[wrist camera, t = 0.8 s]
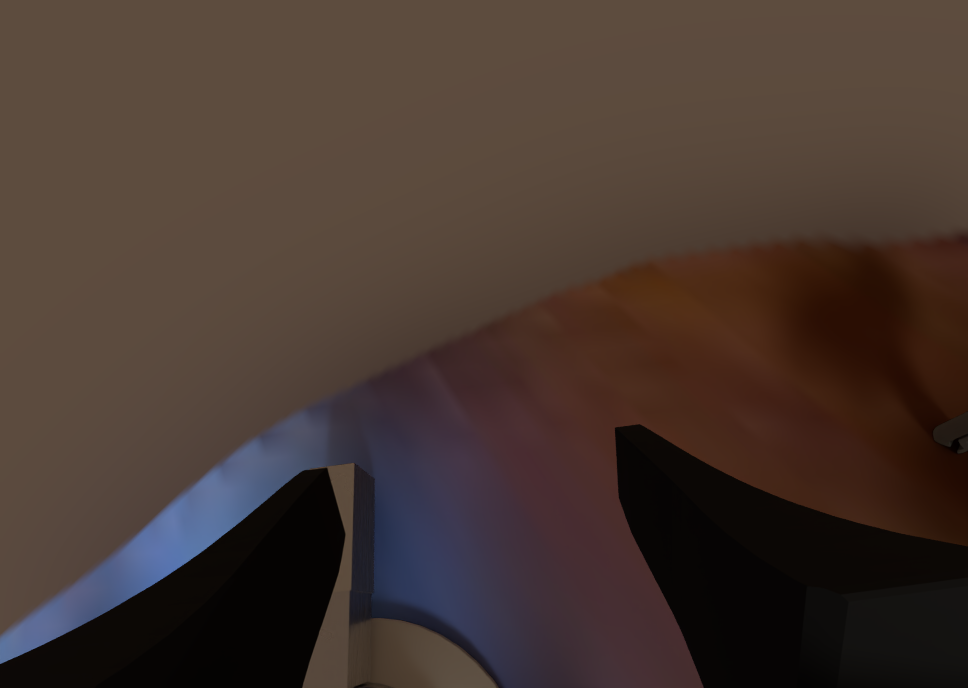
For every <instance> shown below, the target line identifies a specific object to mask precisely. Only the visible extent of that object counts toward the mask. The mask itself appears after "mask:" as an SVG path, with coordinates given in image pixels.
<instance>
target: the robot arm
mask: <svg viewBox="0 0 968 688" xmlns="http://www.w3.org/2000/svg"><path fill="white" fill-rule="evenodd" d="M615 437H616V456H617V474H618V492H619V499H620V502H621V505H622V508H623V511H624V514H625V516H626V519H627V522H628V524H629V527H630V530H631V533H632V535H633V537H634V539H635V541H636V543H637V545H638V547H639V549H640V551H641V552H642V554H643V556H644V558H645V560H646V562H647V564H648V566H649V568H650V570H651V572H652V574H653V576H654V578H655V580H656V582H657V583H658V585H659V587H660V589H661V591H662V593H663V595H664V597H665V599H666V601H667V603H668V605H669V607H670V609H671V611H672V612H673V614H674V617H675V619H676V621H677V623H678V625H679V627H680V629H681V632H682V634H683V636H684V639H685V641H686V644H687V646H688V649H689V651H690V654H691V656H692V659H693V661H694V664H695V666H696V669H697V671H698V674H699V676H700V679H701V681H702V684H703V687H704V688H968V547H967V546H962V545H957V544H952V543H946V542H941V541H936V540H931V539H926V538H920V537H915V536H910V535H905V534H900V533H896V532H892V531H888V530H884V529H880V528H876V527H872V526H868V525H864V524H860V523H856V522H853V521H849V520H846V519H842V518H839V517H835V516H832V515H829V514H826V513H823V512H820V511H817V510H814V509H810V508H807V507H804V506H801V505H798V504H796V503H793V502H790V501H787V500H785V499H782V498H779V497H777V496H775V495H772V494H770V493H767V492H765V491H763V490H760V489H758V488H755V487H753V486H751V485H748V484H746V483H744V482H742V481H740V480H738V479H736V478H734V477H732V476H730V475H728V474H726V473H724V472H722V471H720V470H718V469H716V468H714V467H712V466H710V465H708V464H706V463H705V462H703V461H701V460H699V459H697V458H696V457H694V456H692V455H690V454H689V453H687V452H685V451H684V450H682V449H680V448H679V447H677V446H675V445H674V444H672V443H670V442H669V441H667V440H665V439H664V438H662V437H660V436H659V435H657V434H656V433H654V432H652V431H651V430H649V429H647V428H646V427H644V426H642V425H640V424H638V425H631V426H624V427H616V428H615ZM345 536H346V533H345V530H344V526H343V522H342V519H341V515H340V512H339V508H338V504H337V501H336V497H335V494H334V490H333V486H332V483H331V479H330V476H329V472H328V469H327V467H326V468H319V469H312V470H305V471H302V472H301V473H299V474H298V475H296V476H295V477H294V478H292V479H291V480H290V481H289V482H287V483H286V484H285V485H284V486H283V487H281V488H280V489H279V490H278V491H277V492H275V493H274V494H273V495H272V496H271V497H270V498H268V499H267V500H266V501H265V502H264V503H263V504H261V505H260V506H259V507H258V508H257V509H255V510H254V511H253V512H252V513H251V514H249V515H248V516H247V517H246V518H245V519H243V520H242V521H241V522H240V523H238V524H237V525H236V526H235V527H233V528H232V529H231V530H230V531H228V532H227V533H226V534H224V535H223V536H222V537H221V538H219V539H218V540H217V541H215V542H214V543H213V544H212V545H210V546H209V547H208V548H206V549H205V550H204V551H202V552H201V553H200V554H198V555H197V556H195V557H194V558H193V559H191V560H190V561H188V562H187V563H186V564H184V565H183V566H181V567H180V568H178V569H177V570H175V571H174V572H172V573H171V574H169V575H168V576H166V577H165V578H163V579H161V580H160V581H158V582H157V583H155V584H154V585H152V586H150V587H149V588H147V589H145V590H143V591H142V592H140V593H138V594H137V595H135V596H133V597H132V598H130V599H128V600H126V601H125V602H123V603H121V604H120V605H118V606H116V607H114V608H113V609H111V610H109V611H108V612H106V613H104V614H102V615H100V616H99V617H97V618H95V619H93V620H91V621H89V622H87V623H85V624H83V625H81V626H80V627H78V628H76V629H74V630H72V631H70V632H68V633H66V634H64V635H62V636H60V637H58V638H56V639H54V640H52V641H50V642H48V643H46V644H44V645H41V646H39V647H37V648H35V649H33V650H31V651H29V652H27V653H24V654H22V655H20V656H18V657H15V658H13V659H11V660H8V661H6V662H4V663H2V664H0V688H302V687H303V683H304V680H305V676H306V673H307V669H308V666H309V662H310V659H311V656H312V653H313V650H314V647H315V644H316V641H317V638H318V635H319V632H320V629H321V626H322V623H323V620H324V617H325V614H326V611H327V608H328V605H329V602H330V599H331V596H332V593H333V590H334V587H335V584H336V580H337V577H338V574H339V570H340V565H341V560H342V554H343V548H344V542H345Z"/></svg>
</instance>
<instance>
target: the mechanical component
mask: <svg viewBox="0 0 968 688" xmlns="http://www.w3.org/2000/svg"><path fill="white" fill-rule="evenodd" d="M933 437H934V440H935V441H936V442H938V443H940V444H942V445H945V446H948V447H951V445H952V442H953V440H954V439H956V438H959V437H960V438H959V440H958V442H959V443H960V446H959V448H958V450H957V452H958V454H960V453H964V452H966V451H968V412H966V413H964V414H961V415H959V416H957V417H955V418H953V419H951V420H949V421H947V422H945V423H943V424H941V425H939V426H937V427H936V428H935V429H934V431H933Z"/></svg>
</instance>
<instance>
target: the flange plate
mask: <svg viewBox="0 0 968 688" xmlns="http://www.w3.org/2000/svg"><path fill="white" fill-rule="evenodd" d="M368 682H372V683H380V684H384V685H387V686H391V687H394V688H499V686H498V685H497V683H496V682H495V681H494V679H493V678H492V677H491V676H490V675H489V674H488V673H487V671H486V670H485V669H484V668H483V667H482V666H481V665H480V664H479V662H478V661H476V660H475V659H474V658H473V657H472V656H471V655H469V654H468V653H467V652H466V651H465V650H464V649H462V648H461V647H460V646H459V645H457V644H455V643H454V642H452V641H451V640H449V639H448V638H446V637H444V636H443V635H441V634H439V633H437V632H435V631H432V630H430V629H428V628H426V627H423V626H421V625H417V624H414V623H410V622H406V621H403V620H395V619H386V618H371V680H370V681H368Z"/></svg>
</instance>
